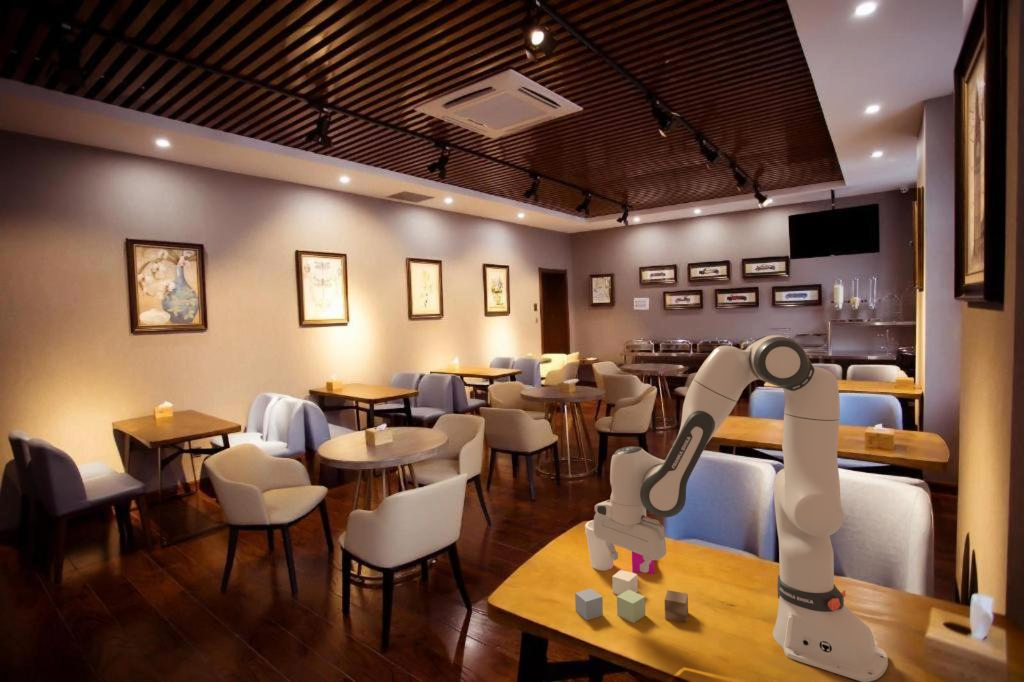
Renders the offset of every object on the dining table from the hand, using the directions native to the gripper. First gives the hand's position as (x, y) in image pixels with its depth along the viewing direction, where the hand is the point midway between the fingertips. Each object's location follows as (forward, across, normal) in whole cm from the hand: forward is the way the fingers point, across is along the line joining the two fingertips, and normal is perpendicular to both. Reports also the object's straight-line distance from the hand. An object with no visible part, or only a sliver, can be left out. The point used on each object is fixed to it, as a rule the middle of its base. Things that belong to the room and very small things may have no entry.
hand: (628, 564), depth 137 cm
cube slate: (+13, +8, +7) cm, 17 cm away
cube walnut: (+13, -8, -8) cm, 17 cm away
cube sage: (+13, 0, 0) cm, 13 cm away
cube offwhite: (+13, +8, -8) cm, 17 cm away
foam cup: (+13, +22, -16) cm, 30 cm away
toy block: (+13, +15, -27) cm, 34 cm away
